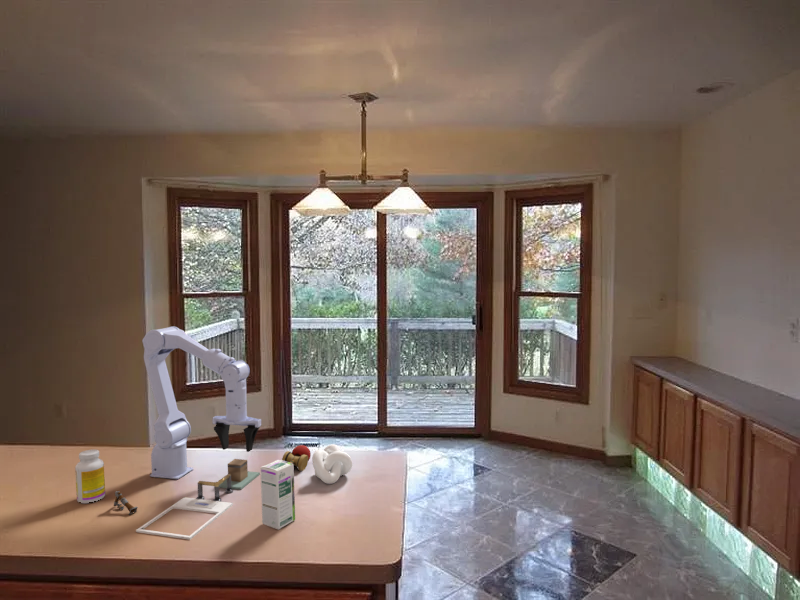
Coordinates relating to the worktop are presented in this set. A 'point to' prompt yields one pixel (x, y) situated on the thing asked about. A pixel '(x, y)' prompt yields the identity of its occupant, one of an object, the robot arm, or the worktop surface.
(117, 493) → the wooden post with brackets
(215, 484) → the brass corner rail
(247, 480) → the mat
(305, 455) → the kendama
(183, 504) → the white flat frame
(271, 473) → the syrup box
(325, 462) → the white knot sculpture
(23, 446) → the worktop surface
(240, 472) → the walnut block
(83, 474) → the supplement bottle
